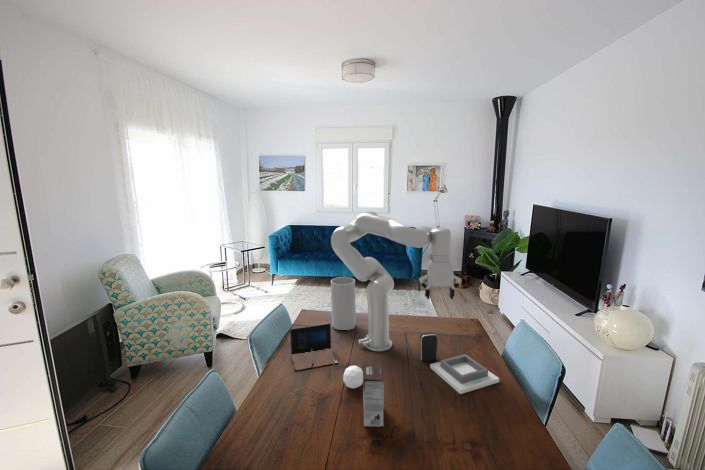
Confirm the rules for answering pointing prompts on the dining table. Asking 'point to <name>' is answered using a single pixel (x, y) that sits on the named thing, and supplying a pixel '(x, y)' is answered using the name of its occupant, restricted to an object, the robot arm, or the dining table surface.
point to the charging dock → (464, 373)
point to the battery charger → (428, 346)
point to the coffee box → (373, 394)
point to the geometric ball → (353, 377)
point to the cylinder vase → (343, 303)
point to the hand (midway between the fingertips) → (439, 298)
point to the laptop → (310, 338)
